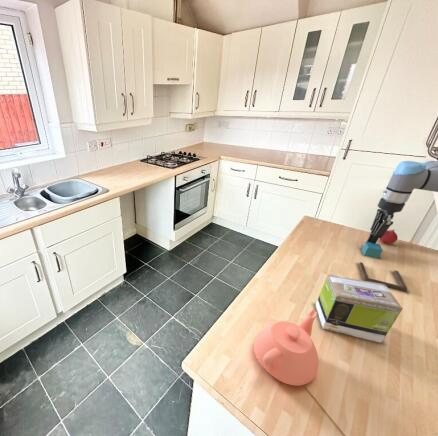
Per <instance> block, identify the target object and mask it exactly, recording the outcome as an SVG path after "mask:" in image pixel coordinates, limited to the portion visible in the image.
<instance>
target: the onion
mask: <svg viewBox="0 0 438 436" xmlns="http://www.w3.org/2000/svg"><path fill="white" fill-rule="evenodd" d="M395 231H396V229H394V228H392V229H388V230H387V231H386V233H385V234H384V235H383V237H382V238H379V240H380V241H381V242H382V243H383V244H385V245H389V244H394V243H396V242H397V241H398V234H397V233H396V232H395Z"/></svg>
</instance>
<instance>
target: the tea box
mask: <svg viewBox="0 0 438 436" xmlns="http://www.w3.org/2000/svg"><path fill="white" fill-rule="evenodd" d="M315 308H316V312H317V315H318V317H319V322H320V324H321V327H322V329H323V330H328V331H331V332H335V333H339V334H344V335H348V336H352V337H354V338H355V337H356V338H359V339H363V340H368V341H372V342H376V343H383V341H384V339H386V337H387V334H388V333H389V331H391V328H392V327H393V325H394V324H395V322H396V320H397V319H398V317H399V316H400V314H401V312H402V310H403V307H402V305H401V304H400V302H398V300H397V298H396V297H395V296H394V295H393V293H392V291H391V290H390V288H389V287H387V286H386V285H385V284H380V283H374V282H369V281H364V279H363V280H362V279H357V278H350V277H346V276H345V277H344V276H339V275H333V274H327V276H326V279H325V281H324V283H323V286H322V288H321V291H320V293H319V295H318V298H317V301H316V303H315Z"/></svg>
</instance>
